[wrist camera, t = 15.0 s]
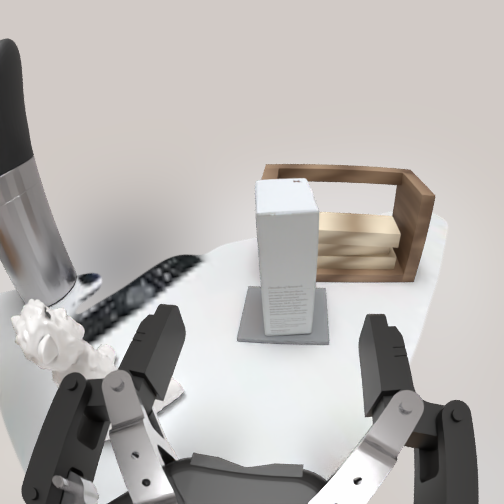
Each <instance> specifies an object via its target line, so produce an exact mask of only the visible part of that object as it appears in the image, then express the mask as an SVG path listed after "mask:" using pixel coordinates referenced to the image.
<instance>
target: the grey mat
mask: <svg viewBox="0 0 504 504" xmlns="http://www.w3.org/2000/svg"><path fill="white" fill-rule="evenodd" d="M237 341H243V342H260V343H281V344H329V329H328V314H327V300H326V288H315V299H314V311H313V322H312V332H311V333H309V334H296V335H279V336H266V335H265V330H264V318H263V305H262V292H261V287H254V286H248V291H247V295H246V300H245V304H244V309H243V313H242V318H241V322H240V327H239V331H238V336H237Z"/></svg>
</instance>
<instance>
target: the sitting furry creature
mask: <svg viewBox="0 0 504 504" xmlns="http://www.w3.org/2000/svg"><path fill="white" fill-rule="evenodd" d="M11 322H12V325H13V328H14V331H15V332H16V334H17V335H16V337H15V343H17V344H18V345H19V346H20V347H21V349H22V351H23V353H24V355H25V357H26V358H27V359H28V360H29V361H32V362H33V363H35V364H36V365H38V366H39V367H40V368H41V369H47V370H52V375H53V381H54V382H55V383H56V384H57V386H58V388H59V386H60V384H61V381H62V380H63V378H64V377H65V376H66V375H68V374H70V373H73V372H78V373H80V374H82V375H83V376H84V377H85V378H86V379H102V378H105V376H106V375H107V374H109V373H110V372H112V371H115V370H118V367H116V366H115V365H114V362H115V357H116V352H115V350H114V348H113V347H111V346H110V345H107V344H106V345H103V346H102V344H101V345H100V346H99V347H98V348H97V350H95V349H94V348H93V347H92V346H91V345H90V344H88V343H87V342H86V341H84V340H82V338H83V336H84V332H85V331H84V328H83V326H82V325H81V324H79V323H77V322H76V321H75V320H74V319H72V317H71V316H68V315H67V314H66V310H65V309H64V308H58V309H54V310H51V309H50V308H49V307H47V306H46V305H44V303H43V302H41V301H40V300H38V299H36V300H34V299H30V300H29V302H28V303H27V304H26V305H24V306H23V309H22V311H21V315H16V316H12V317H11ZM183 392H184V389H183V387H182V386H181V385H180V383H179V382H178V381H176V380H174V378H173V377H172V378H171V381H170V383H169V386H168V389H167V392H166V395H165V398H164V401H160V400H156V399H155V401H154V404H153V407H154V410H155V412H156V414H157V412H158V411H162V408H163V407H165V406H166V405H168V404H170V403H171V402H173V401H174V400H175V399H177V398H178V397H179V396H180V395H181V394H182V393H183ZM111 429H112V426H111V423H110V426H109V429H108V432H107V436H106V439H105V441H107V440H110V437H109V430H111Z"/></svg>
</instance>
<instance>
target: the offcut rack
mask: <svg viewBox="0 0 504 504" xmlns="http://www.w3.org/2000/svg"><path fill="white" fill-rule="evenodd" d="M294 178H305V179H307V181H315V182H349V183H371V184H372V183H373V184H388V185H397V189H396V196H395V203H394V209H393V215H392V216H393V218H394V220H395V222H396V225H397V227H398V229H399V231H400V234H401V236H400V241H399V246H398V248H396V247H392V248H393V250H394V253H395V255H396V257H397V258H396V262H395V266H394V269H317V273H316V282H414V278H415V275H416V272H417V269H418V265H419V262H420V259H421V255H422V251H423V248H424V244H425V240H426V236H427V232H428V228H429V224H430V220H431V215H432V210H433V206H434V201H435V195H434V194H433V193H432V192H431V191H430V190H429V188H428V187H427V186H426V185H425V184H424V183H423V182H422V181H421V180H420V179H419V178H418V177H417V176H416V175H415V174H414V173H413V172H412V171H411V170H406V169H396V168H383V167H367V166H348V165H315V164H268V165H267V164H266V167H265V170H264V173H263V176H262V180H268V179H294Z"/></svg>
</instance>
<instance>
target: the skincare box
mask: <svg viewBox="0 0 504 504" xmlns="http://www.w3.org/2000/svg"><path fill="white" fill-rule="evenodd" d="M255 202H256V203H255V204H256V228H257V241H258V254H259V267H260V280H261V292H262V305H263V318H264V330H265V335H266V336H279V335H296V334H309V333H311V332H312V322H313V311H314V299H315V286H316V273H317V258H318V236H319V208H318V206H317V204H316V201H315V198H314V194H313V191H312V190H311V188H310V186H309V184H308V181H307V179H305V178H294V179H268V180H258V181H256V185H255Z"/></svg>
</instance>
